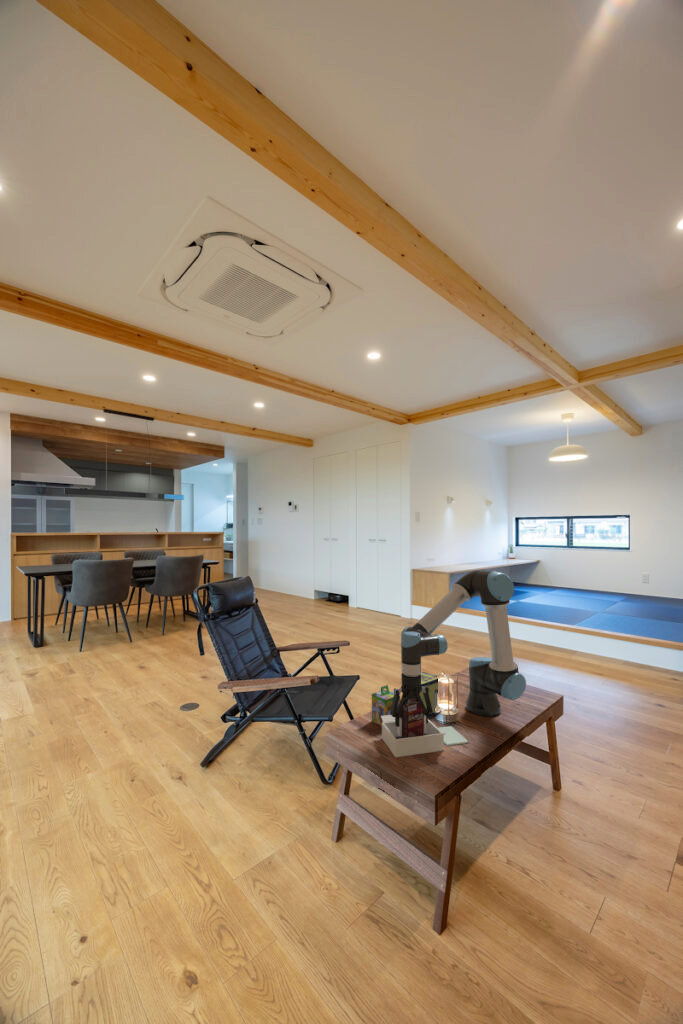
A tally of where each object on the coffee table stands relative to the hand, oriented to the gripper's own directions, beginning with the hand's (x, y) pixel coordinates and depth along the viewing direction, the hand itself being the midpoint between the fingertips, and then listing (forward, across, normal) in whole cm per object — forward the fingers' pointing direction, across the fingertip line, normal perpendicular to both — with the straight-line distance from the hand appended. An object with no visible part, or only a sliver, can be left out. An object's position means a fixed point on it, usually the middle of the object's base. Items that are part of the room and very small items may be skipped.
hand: (411, 733), depth 154 cm
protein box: (+4, -16, -25) cm, 30 cm away
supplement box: (+4, 0, 0) cm, 4 cm away
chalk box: (+4, +3, -20) cm, 21 cm away
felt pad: (+4, -17, -2) cm, 18 cm away
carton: (+4, 0, 0) cm, 4 cm away
